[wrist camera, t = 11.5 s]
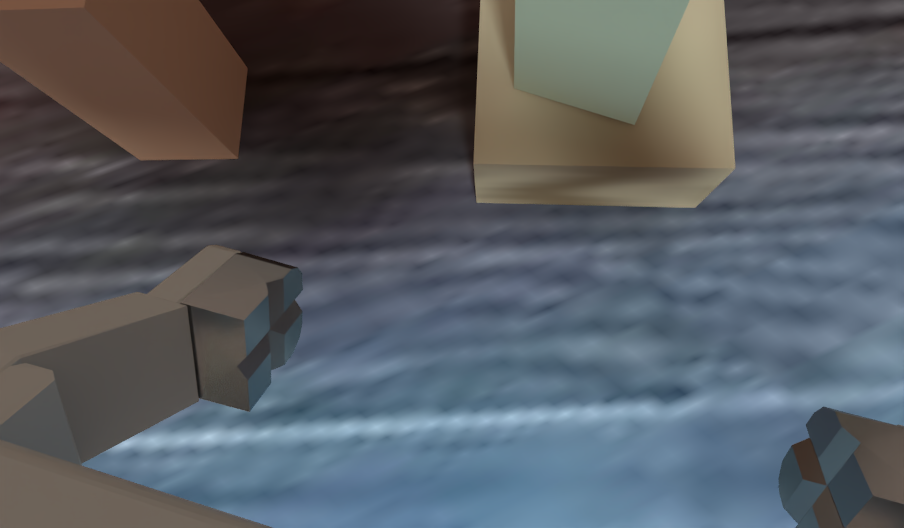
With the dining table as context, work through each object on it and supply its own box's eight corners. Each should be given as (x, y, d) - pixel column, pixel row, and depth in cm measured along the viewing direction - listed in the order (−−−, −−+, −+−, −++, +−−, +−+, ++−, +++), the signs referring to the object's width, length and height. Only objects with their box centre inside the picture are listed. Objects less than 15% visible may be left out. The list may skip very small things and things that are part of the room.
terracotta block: (140, 160, 23) (-70, 12, 15) (153, 70, 24) (-36, -119, 16) (237, 158, 23) (84, 7, 14) (247, 68, 24) (108, -126, 15)
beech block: (476, 205, 22) (473, 163, 18) (484, 22, 24) (482, -51, 20) (691, 210, 22) (735, 168, 18) (682, 21, 24) (720, -54, 20)
